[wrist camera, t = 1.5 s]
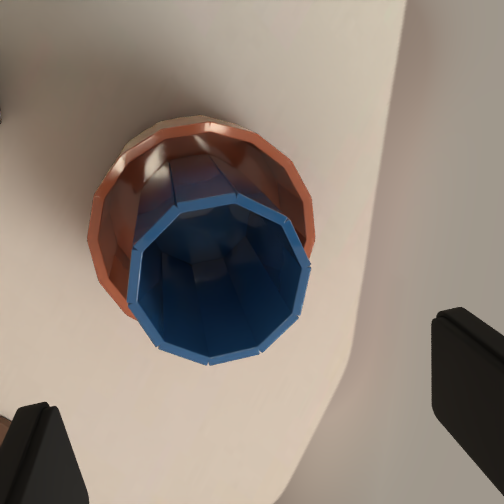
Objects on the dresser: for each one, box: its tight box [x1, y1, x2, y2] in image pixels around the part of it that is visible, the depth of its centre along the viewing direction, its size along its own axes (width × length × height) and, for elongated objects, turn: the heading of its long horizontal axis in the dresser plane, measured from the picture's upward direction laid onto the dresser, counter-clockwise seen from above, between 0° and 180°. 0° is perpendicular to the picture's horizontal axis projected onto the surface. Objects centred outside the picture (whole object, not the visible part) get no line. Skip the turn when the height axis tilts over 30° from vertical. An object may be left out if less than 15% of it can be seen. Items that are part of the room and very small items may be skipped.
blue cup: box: [126, 154, 311, 366], centre depth 22 cm, size 7×7×11 cm
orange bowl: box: [87, 115, 315, 320], centre depth 25 cm, size 11×11×6 cm
